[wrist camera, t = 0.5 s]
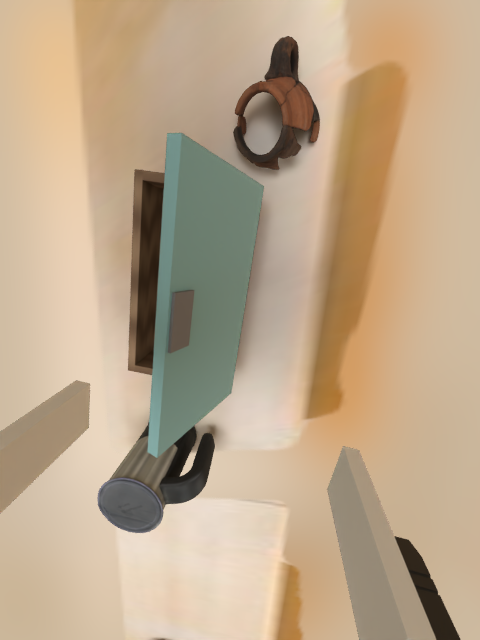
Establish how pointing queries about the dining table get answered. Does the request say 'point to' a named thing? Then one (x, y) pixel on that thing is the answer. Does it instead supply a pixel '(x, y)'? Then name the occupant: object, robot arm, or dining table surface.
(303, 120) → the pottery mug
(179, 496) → the milk frother
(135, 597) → the dining table surface
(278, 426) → the dining table surface
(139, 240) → the storage box
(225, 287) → the lid
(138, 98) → the dining table surface
